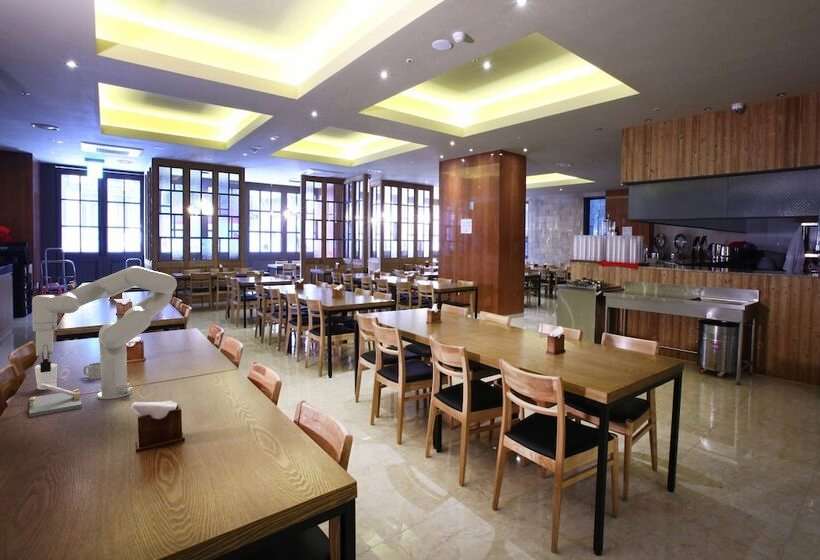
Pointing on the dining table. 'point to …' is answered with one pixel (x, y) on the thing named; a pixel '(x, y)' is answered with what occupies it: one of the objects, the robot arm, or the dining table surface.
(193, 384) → the dining table surface
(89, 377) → the mug
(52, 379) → the white cup
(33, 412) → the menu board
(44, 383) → the bar
